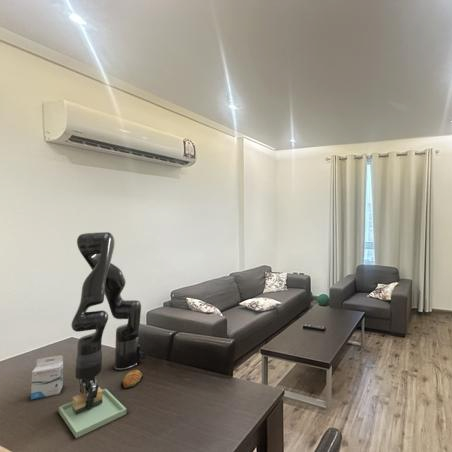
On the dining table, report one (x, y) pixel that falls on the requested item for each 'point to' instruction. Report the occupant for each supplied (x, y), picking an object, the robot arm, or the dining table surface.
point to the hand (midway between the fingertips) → (87, 405)
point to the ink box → (47, 377)
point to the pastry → (132, 378)
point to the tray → (92, 415)
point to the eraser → (80, 401)
